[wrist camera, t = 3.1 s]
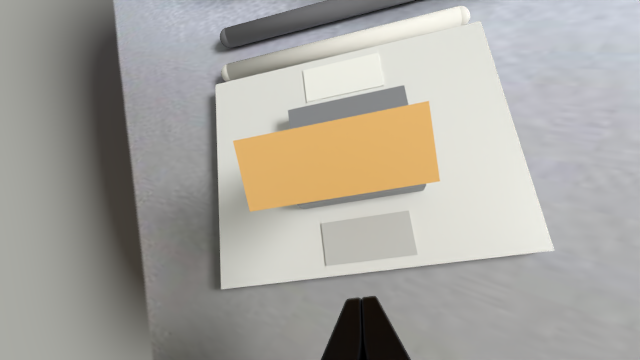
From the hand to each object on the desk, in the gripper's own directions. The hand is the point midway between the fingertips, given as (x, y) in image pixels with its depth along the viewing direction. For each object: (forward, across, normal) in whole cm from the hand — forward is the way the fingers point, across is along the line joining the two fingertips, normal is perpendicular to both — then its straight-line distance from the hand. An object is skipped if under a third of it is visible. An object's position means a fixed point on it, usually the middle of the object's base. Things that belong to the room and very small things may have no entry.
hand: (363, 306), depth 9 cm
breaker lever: (+10, 0, -1) cm, 10 cm away
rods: (+19, 0, -5) cm, 20 cm away
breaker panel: (+12, 0, +1) cm, 12 cm away
